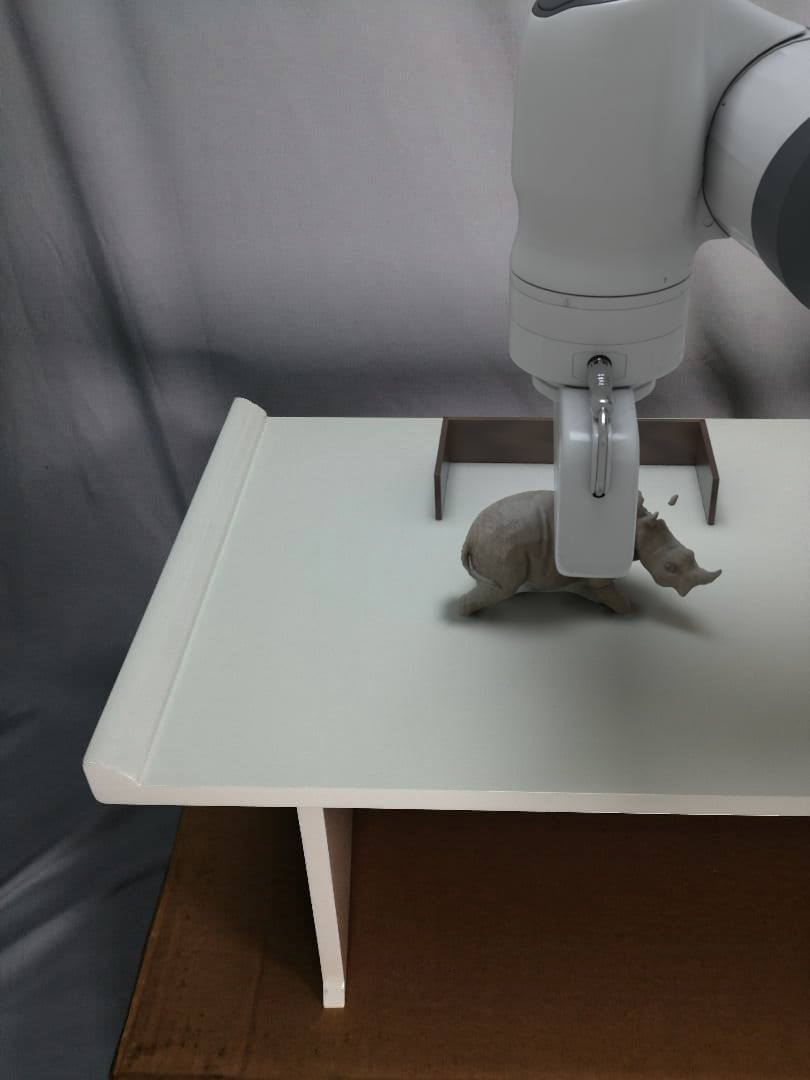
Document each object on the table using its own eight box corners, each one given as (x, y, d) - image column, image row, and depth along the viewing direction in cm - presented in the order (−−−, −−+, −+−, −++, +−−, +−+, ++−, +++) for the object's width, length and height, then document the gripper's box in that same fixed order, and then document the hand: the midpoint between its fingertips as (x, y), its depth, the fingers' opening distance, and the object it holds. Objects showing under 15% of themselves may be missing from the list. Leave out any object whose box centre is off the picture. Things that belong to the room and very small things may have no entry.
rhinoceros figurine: (418, 541, 83) (548, 394, 75) (572, 628, 87) (712, 498, 79) (409, 615, 77) (549, 464, 69) (575, 706, 81) (727, 573, 72)
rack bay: (700, 462, 96) (705, 418, 94) (714, 524, 88) (719, 478, 86) (444, 458, 98) (443, 416, 96) (435, 519, 90) (433, 474, 88)
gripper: (680, 416, 50) (653, 670, 57) (646, 251, 67) (629, 464, 74) (530, 414, 50) (523, 665, 58) (535, 251, 67) (528, 461, 75)
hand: (582, 550), depth 66 cm, fingers closed
